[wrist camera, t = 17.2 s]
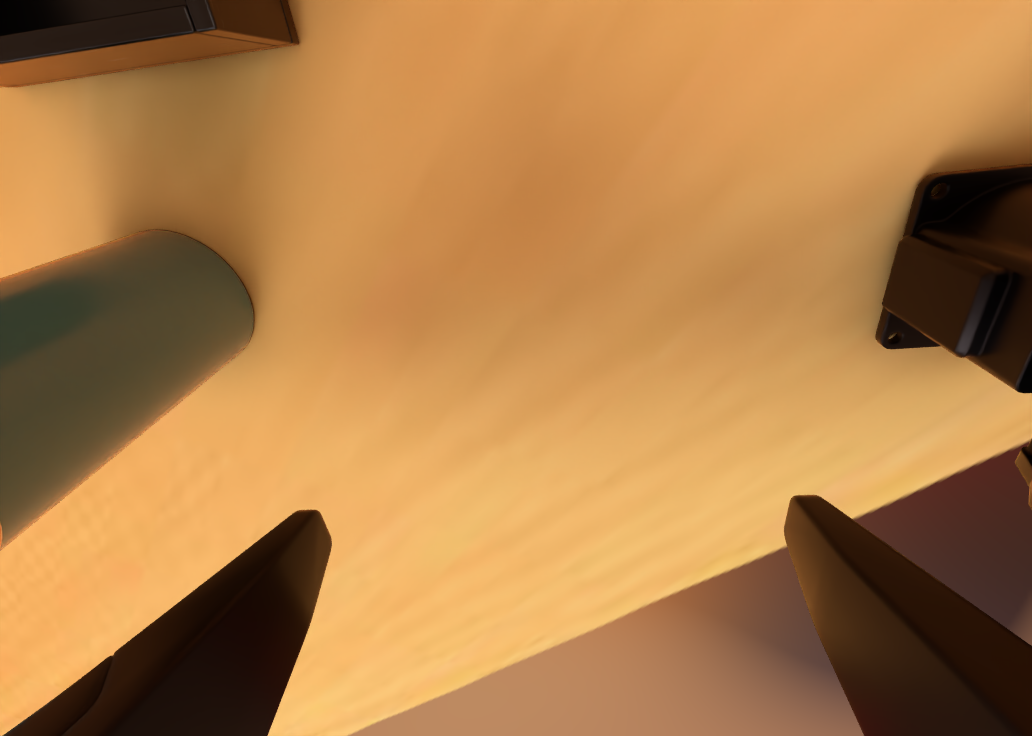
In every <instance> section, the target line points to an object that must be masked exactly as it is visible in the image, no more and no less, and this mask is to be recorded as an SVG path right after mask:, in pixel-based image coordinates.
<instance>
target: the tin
mask: <svg viewBox="0 0 1032 736" xmlns="http://www.w3.org/2000/svg"><path fill="white" fill-rule="evenodd" d="M253 325H254V316H253V309H252V304H251V301H250V298H249V295H248V293H247V291H246V289H245V287H244V285H243V284H242V282H241V280H240V279H239V277H238V276H237V275H236V273H235V272H234V271H233V269H232V268H231V267H230V266H229V265H228V264H227V263H226V262H225V261H224V260H223V259H222V258H221V257H220V256H218V255H217V254H216V253H215V252H213V251H212V250H211V249H209V248H208V247H206V246H205V245H203V244H201V243H200V242H198V241H196V240H194V239H192V238H190V237H187V236H184V235H182V234H179V233H175V232H170V231H164V230H146V231H141V232H137V233H134V234H131V235H128V236H125V237H122V238H119V239H116V240H113V241H110V242H107V243H104V244H101V245H98V246H95V247H93V248H90V249H87V250H84V251H81V252H78V253H75V254H72V255H69V256H66V257H63V258H60V259H57V260H54V261H51V262H48V263H45V264H42V265H39V266H36V267H33V268H30V269H27V270H24V271H21V272H18V273H15V274H12V275H9V276H6V277H3V278H0V551H1V550H2V549H3V548H4V547H6V546H7V545H8V544H9V543H10V542H12V541H13V540H14V539H15V538H17V537H18V536H19V535H20V534H21V533H23V532H24V531H25V530H26V529H27V528H29V527H30V526H31V525H32V524H33V523H35V522H36V521H37V520H38V519H40V518H41V517H42V516H43V515H44V514H46V513H47V512H48V511H49V510H50V509H52V508H53V507H54V506H55V505H57V504H58V503H59V502H60V501H61V500H63V499H64V498H65V497H66V496H67V495H69V494H70V493H71V492H72V491H73V490H75V489H76V488H77V487H78V486H80V485H81V484H82V483H83V482H84V481H86V480H87V479H88V478H89V477H90V476H92V475H93V474H94V473H95V472H97V471H98V470H99V469H100V468H101V467H103V466H104V465H105V464H106V463H107V462H109V461H110V460H111V459H112V458H114V457H115V456H116V455H117V454H118V453H120V452H121V451H122V450H123V449H124V448H126V447H127V446H128V445H129V444H130V443H132V442H133V441H134V440H135V439H137V438H138V437H139V436H140V435H141V434H143V433H144V432H145V431H146V430H147V429H149V428H150V427H151V426H152V425H154V424H155V423H156V422H157V421H158V420H160V419H161V418H162V417H163V416H164V415H166V414H167V413H168V412H169V411H170V410H172V409H173V408H174V407H175V406H177V405H178V404H179V403H180V402H181V401H183V400H184V399H185V398H186V397H187V396H189V395H190V394H191V393H192V392H194V391H195V390H196V389H197V388H198V387H200V386H201V385H202V384H203V383H204V382H206V381H207V380H208V379H209V378H211V377H212V376H213V375H214V374H215V373H217V372H218V371H219V370H220V369H221V368H223V367H224V366H225V365H226V364H227V363H229V362H230V361H231V360H232V359H234V358H235V357H236V356H237V355H238V354H240V353H241V352H242V351H243V350H244V349H245V347H246V346H247V344H248V343H249V340H250V338H251V336H252V332H253Z"/></svg>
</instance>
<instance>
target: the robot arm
mask: <svg viewBox="0 0 1032 736" xmlns="http://www.w3.org/2000/svg"><path fill="white" fill-rule="evenodd" d="M937 184H940V189H939V191H938V192H937V193H936V194H935V195H933V196H931V191H932V189H933V188H934V187H935V186H936V185H937ZM882 305H883V306H884V307H883V310H882V314H881V317H880V321H879V325H878V328H877V332H876V340H877V342H878V343H879V344H881V345H882V346H883V347H885V348H887V349H904V348H920V347H936V346H942V347H943V348H945V349H946V350H948V351H949V352H951V353H952V354H954V355H955V356H957V357H960V358H962V357H966V358H967V359H969V360H970V361H972V362H973V363H975V364H976V365H978V366H979V367H981V368H982V369H984V370H986V371H987V372H989V373H990V374H992V375H993V376H995V377H996V378H998V379H999V380H1001V381H1002V382H1004V383H1005V384H1007V385H1009V386H1010V387H1012V388H1013V389H1015V390H1016V391H1018V392H1020V393H1032V164H1024V165H1014V166H1004V167H994V168H984V169H974V170H964V171H954V172H944V173H936V174H932V175H929V176H927V177H926V178H924V179H923V180H922V181H921V182H920V183H919V185H918V187H917V189H916V191H915V195H914V198H913V202H912V206H911V209H910V213H909V216H908V220H907V224H906V227H905V231H904V235H903V238H902V240H901V241H900V242H899V244H898V247H897V251H896V255H895V258H894V262H893V266H892V269H891V273H890V276H889V280H888V284H887V287H886V291H885V295H884V298H883V302H882ZM895 332H896V335H895V336H894V337H893V338H891V339H888V338H889V336H890V335H891V334H893V333H895ZM1015 464H1016V466H1017V467H1018V469H1019V471H1020V472H1021V474H1022V476H1023V478H1024V479H1025V481H1026V483H1027V484H1028V486H1029V506H1030V508H1031V510H1032V439H1031V441H1030V443H1029V445H1028V447H1023V448H1022V449H1021V451H1020V453H1019V455H1018V457H1017V459H1016V461H1015ZM784 536H785V540H786V543H787V546H788V549H789V552H790V555H791V558H792V561H793V564H794V567H795V570H796V573H797V576H798V579H799V582H800V585H801V588H802V591H803V594H804V597H805V600H806V603H807V606H808V609H809V612H810V615H811V618H812V621H813V623H814V626H815V628H816V630H817V633H818V635H819V637H820V640H821V642H822V644H823V646H824V649H825V651H826V653H827V655H828V657H829V660H830V662H831V664H832V666H833V668H834V670H835V673H836V675H837V677H838V679H839V681H840V683H841V686H842V688H843V690H844V692H845V694H846V697H847V699H848V701H849V703H850V705H851V708H852V710H853V712H854V714H855V716H856V718H857V721H858V723H859V725H860V727H861V730H862V732H863V734H864V736H1032V646H1031V645H1029V644H1028V643H1027V642H1025V641H1024V640H1022V639H1021V638H1019V637H1018V636H1017V635H1015V634H1014V633H1013V632H1011V631H1010V630H1008V629H1007V628H1005V627H1004V626H1003V625H1001V624H1000V623H998V622H997V621H996V620H994V619H993V618H991V617H990V616H988V615H987V614H986V613H984V612H983V611H981V610H980V609H979V608H977V607H976V606H974V605H973V604H972V603H970V602H969V601H967V600H966V599H964V598H963V597H962V596H960V595H959V594H957V593H956V592H954V591H953V590H951V589H950V588H949V587H947V586H946V585H945V584H943V583H942V582H940V581H939V580H938V579H936V578H935V577H933V576H932V575H930V574H929V573H928V572H926V571H925V570H923V569H922V568H920V567H919V566H918V565H916V564H915V563H913V562H912V561H911V560H909V559H908V558H906V557H905V556H903V555H902V554H901V553H899V552H898V551H897V550H895V549H893V548H892V547H891V546H889V545H888V544H887V543H885V542H884V541H882V540H881V539H880V538H878V537H877V536H875V535H874V534H872V533H871V532H870V531H868V530H867V529H865V528H864V527H863V526H861V525H860V524H858V523H857V522H855V521H854V520H853V519H851V518H850V517H848V516H847V515H846V514H844V513H843V512H841V511H840V510H838V509H837V508H836V507H834V506H833V505H831V504H830V503H829V502H827V501H826V500H824V499H823V498H821V497H819V496H817V495H797V496H793V497H792V498H791V500H790V503H789V508H788V512H787V517H786V521H785V526H784ZM331 546H332V541H331V536H330V534H329V531H328V529H327V527H326V524H325V522H324V520H323V518H322V515H321V513H320V512H319V511H317V510H299V511H296V512H295V513H293V514H292V515H290V516H289V517H288V518H287V519H285V520H284V521H283V522H281V523H280V524H279V525H278V526H276V527H275V528H274V529H272V530H271V531H270V532H269V533H267V534H266V535H265V536H263V537H262V538H261V539H260V540H258V541H257V542H256V543H254V544H253V545H252V546H251V547H249V548H248V549H247V550H245V551H244V552H243V553H242V554H240V555H239V556H238V557H236V558H235V559H234V560H233V561H231V562H230V563H229V564H227V565H226V566H225V567H224V568H222V569H221V570H220V571H218V572H217V573H216V574H215V575H213V576H212V577H211V578H209V579H208V580H207V581H206V582H204V583H203V584H202V585H200V586H199V587H198V588H197V589H195V590H194V591H193V592H191V593H190V594H189V595H188V596H186V597H185V598H184V599H182V600H181V601H180V602H179V603H177V604H176V605H175V606H173V607H172V608H171V609H170V610H168V611H167V612H166V613H164V614H163V615H162V616H161V617H159V618H158V619H157V620H155V621H154V622H153V623H152V624H150V625H149V626H148V627H146V628H145V629H144V630H143V631H141V632H140V633H139V634H137V635H136V636H135V637H134V638H132V639H131V640H130V641H128V642H127V643H126V644H125V645H123V646H122V647H121V648H119V649H118V650H117V651H116V652H115V653H114V655H113V656H109V657H108V658H106V659H105V660H104V661H103V662H101V663H100V664H99V665H97V666H96V667H95V668H94V669H92V670H91V671H90V672H88V673H87V674H86V675H84V676H83V677H82V678H81V679H79V680H78V681H77V682H75V683H74V684H73V685H71V686H70V687H69V688H67V689H66V690H65V691H63V692H62V693H61V694H59V695H58V696H57V697H55V698H54V699H53V700H51V701H50V702H49V703H47V704H46V705H45V706H43V707H42V708H40V709H39V710H38V711H36V712H35V713H34V714H32V715H31V716H29V717H28V718H27V719H25V720H24V721H22V722H21V723H20V724H18V725H17V726H15V727H14V728H13V729H11V730H10V731H9V732H7V733H6V734H4V735H3V736H267V735H268V733H269V730H270V728H271V725H272V722H273V720H274V717H275V715H276V712H277V709H278V707H279V704H280V702H281V699H282V696H283V694H284V691H285V689H286V686H287V683H288V681H289V678H290V676H291V673H292V671H293V668H294V665H295V663H296V660H297V658H298V655H299V652H300V650H301V647H302V645H303V642H304V639H305V637H306V634H307V631H308V629H309V626H310V623H311V620H312V616H313V613H314V610H315V606H316V602H317V599H318V595H319V591H320V588H321V584H322V581H323V577H324V573H325V570H326V566H327V563H328V559H329V555H330V552H331Z"/></svg>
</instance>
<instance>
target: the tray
mask: <svg viewBox="0 0 1032 736" xmlns="http://www.w3.org/2000/svg"><path fill="white" fill-rule="evenodd" d="M298 44H299V41H298V37H297V34H296V30H295V27H294V23H293V20H292V16H291V12H290V9H289V5H288V2H287V0H0V87H23V86H29V85H36V84H42V83H49V82H55V81H62V80H69V79H75V78H82V77H88V76H95V75H101V74H108V73H115V72H121V71H128V70H134V69H141V68H147V67H154V66H161V65H167V64H174V63H180V62H187V61H194V60H200V59H207V58H213V57H220V56H226V55H233V54H240V53H246V52H253V51H259V50H266V49H272V48H279V47H286V46H292V45H298Z"/></svg>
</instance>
